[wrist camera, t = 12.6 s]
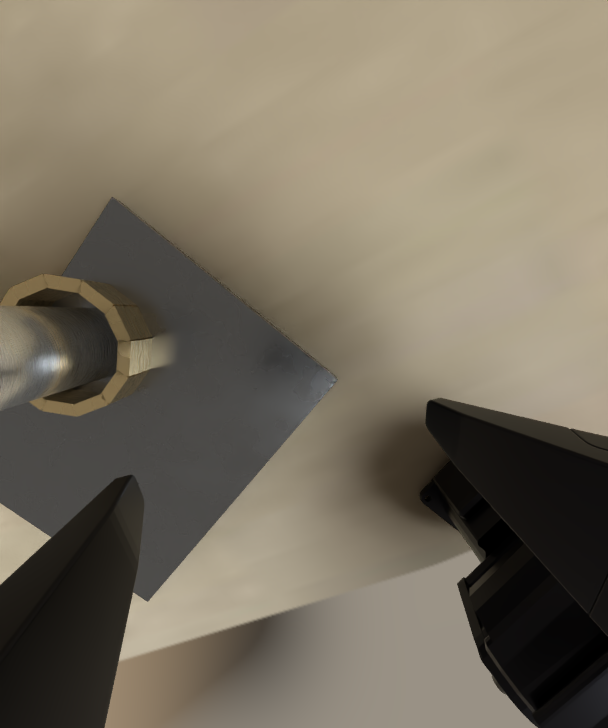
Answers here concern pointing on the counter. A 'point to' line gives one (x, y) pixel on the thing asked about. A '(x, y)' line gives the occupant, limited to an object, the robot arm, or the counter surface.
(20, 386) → the grey cylindrical piece
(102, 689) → the robot arm
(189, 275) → the base
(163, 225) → the counter surface
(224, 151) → the counter surface
